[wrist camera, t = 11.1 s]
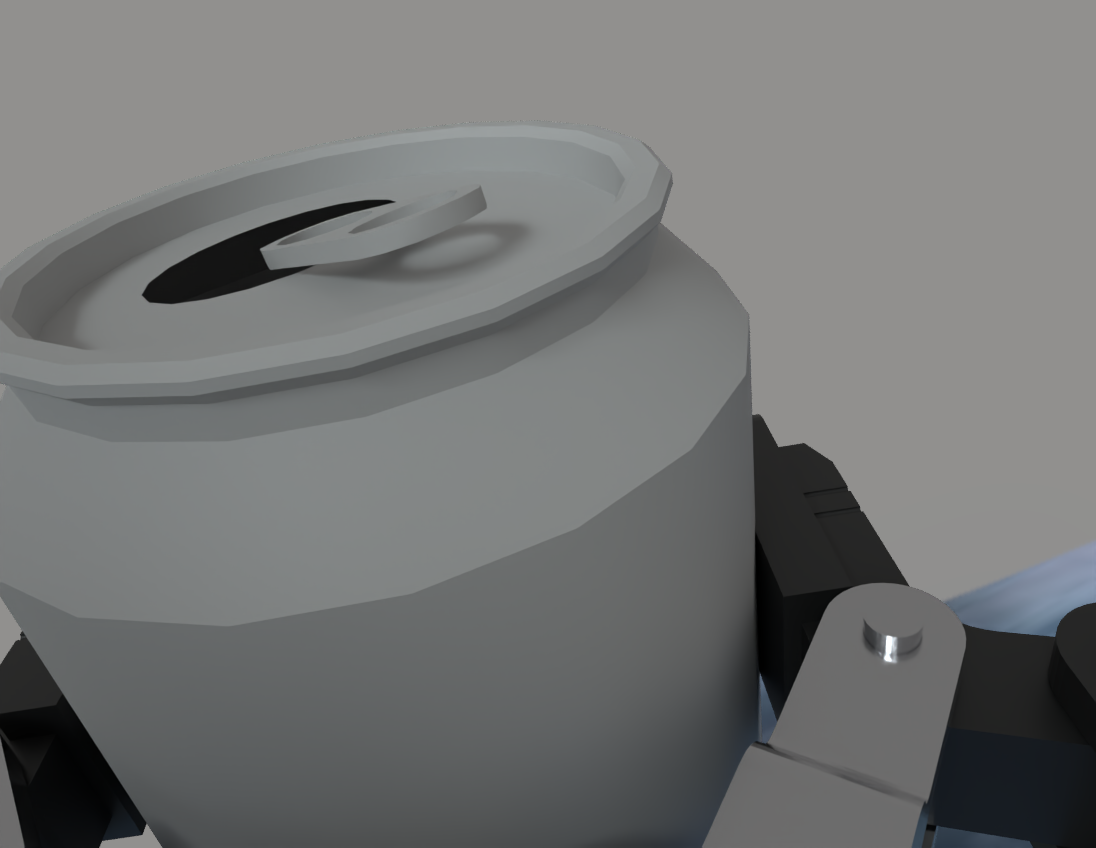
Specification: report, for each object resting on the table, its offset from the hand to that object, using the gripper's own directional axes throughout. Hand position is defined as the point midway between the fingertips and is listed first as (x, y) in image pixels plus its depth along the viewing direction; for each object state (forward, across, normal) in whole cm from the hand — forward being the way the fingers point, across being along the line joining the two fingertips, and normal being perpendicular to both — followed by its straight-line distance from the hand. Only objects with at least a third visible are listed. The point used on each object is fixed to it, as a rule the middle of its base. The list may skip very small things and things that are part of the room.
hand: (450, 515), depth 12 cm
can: (-2, 0, +7) cm, 7 cm away
